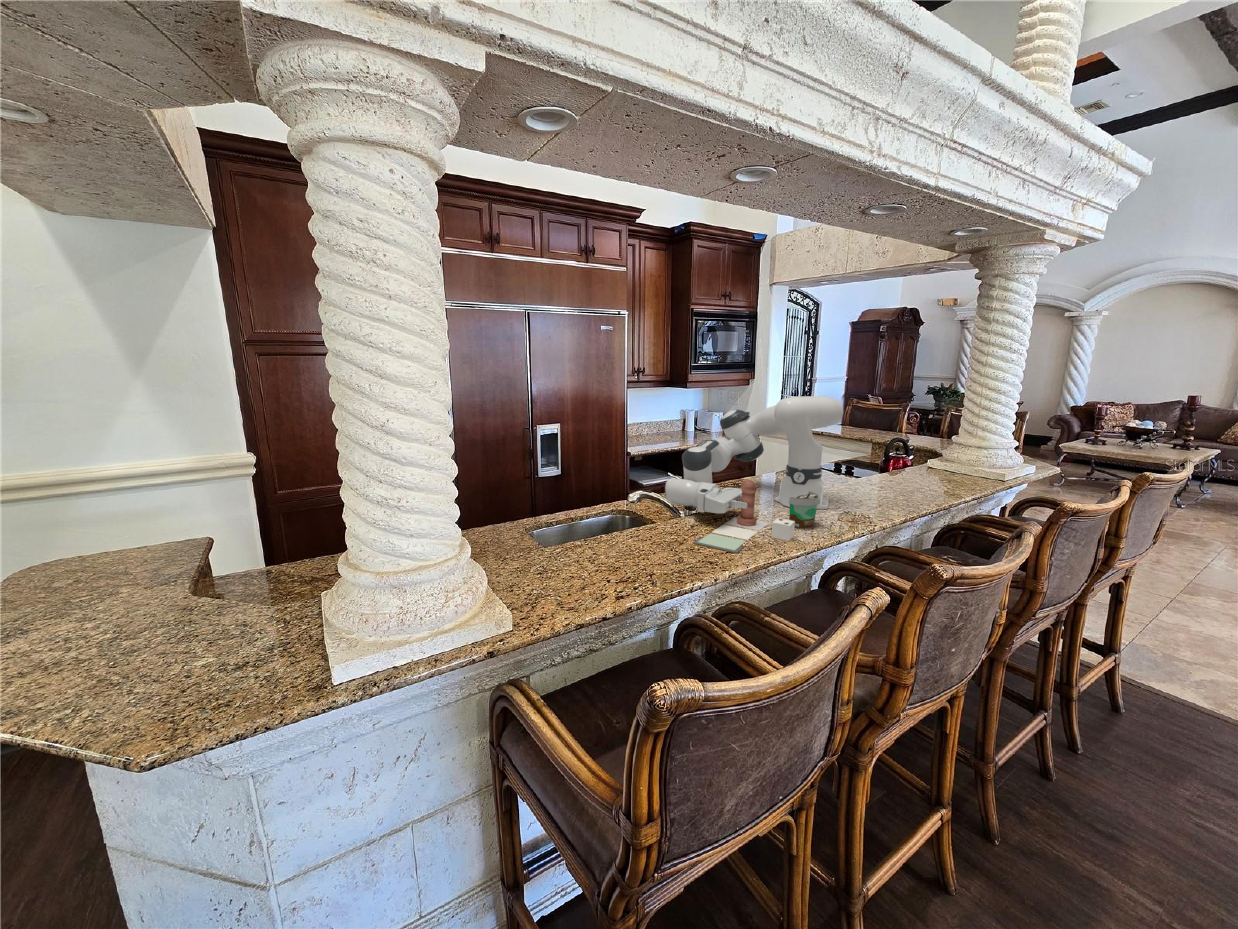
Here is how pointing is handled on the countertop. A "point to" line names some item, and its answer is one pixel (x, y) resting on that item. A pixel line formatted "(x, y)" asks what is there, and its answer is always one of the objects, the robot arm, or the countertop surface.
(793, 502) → the food container
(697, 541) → the game board
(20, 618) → the countertop surface
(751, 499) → the pawn
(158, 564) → the countertop surface
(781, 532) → the die
